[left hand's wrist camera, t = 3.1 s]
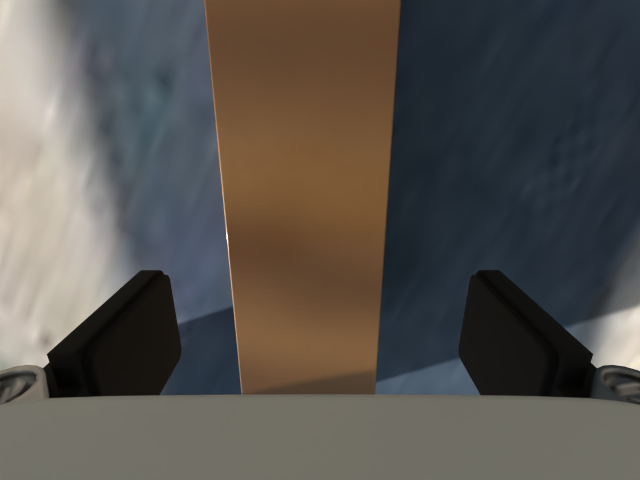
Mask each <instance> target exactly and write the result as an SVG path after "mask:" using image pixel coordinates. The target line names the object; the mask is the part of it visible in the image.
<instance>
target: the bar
mask: <svg viewBox="0 0 640 480" xmlns="http://www.w3.org/2000/svg"><path fill="white" fill-rule="evenodd" d="M204 4H205V15H206V25H207V36H208V46H209V57H210V67H211V78H212V88H213V99H214V109H215V120H216V130H217V141H218V151H219V162H220V172H221V183H222V193H223V204H224V214H225V225H226V235H227V246H228V256H229V267H230V277H231V287H232V298H233V308H234V319H235V329H236V340H237V350H238V361H239V371H240V382H241V392H242V395H244V394H375V387H376V372H377V357H378V342H379V327H380V312H381V297H382V282H383V267H384V252H385V237H386V222H387V207H388V192H389V177H390V162H391V147H392V132H393V117H394V102H395V87H396V72H397V57H398V42H399V27H400V12H401V0H204Z"/></svg>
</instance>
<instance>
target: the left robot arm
mask: <svg viewBox="0 0 640 480" xmlns="http://www.w3.org/2000/svg"><path fill="white" fill-rule="evenodd" d="M47 356H48V359H49V363H48V364H47V365H46V366H45V367H44V368H41V367H38V366H35V365H24V366H16V367H12V368H9V369H5V370H2V371H0V480H640V371H638V370H635V369H631V368H628V367H624V366H616V365H605V366H602V367H599V368H596V367H595V366H594V365H593V364H592V363H591V359H592V356H593V354H592V353H591V352H590V351H589V350H588V349H587V348H586V347H584V346H583V345H582V344H581V343H580V342H579V341H578V340H577V339H575V338H574V337H573V336H572V335H571V334H570V333H569V332H568V331H567V330H565V329H564V328H563V327H562V326H561V325H560V324H559V323H558V322H556V321H555V320H554V319H553V318H552V317H551V316H550V315H549V314H547V313H546V312H545V311H544V310H543V309H542V308H541V307H540V306H539V305H537V304H536V303H535V302H534V301H533V300H532V299H531V298H530V297H528V296H527V295H526V294H525V293H524V292H523V291H522V290H521V289H520V288H518V287H517V286H516V285H515V284H514V283H513V282H512V281H511V280H509V279H508V278H507V277H506V276H505V275H504V274H503V273H502V272H500V271H499V270H479V271H478V272H477V273H476V275H472V276H471V278H470V283H469V289H468V295H467V301H466V307H465V313H464V319H463V325H462V331H461V337H460V343H459V356H460V359H461V361H462V363H463V365H464V366H465V368H466V370H467V372H468V373H469V375H470V377H471V379H472V380H473V382H474V384H475V386H476V388H477V389H478V391H479V393H480V395H381V394H244V395H160V393H161V391H162V389H163V388H164V386H165V384H166V382H167V380H168V379H169V377H170V375H171V373H172V372H173V370H174V368H175V366H176V365H177V363H178V361H179V359H180V356H181V343H180V337H179V331H178V325H177V319H176V313H175V307H174V301H173V295H172V289H171V283H170V278H169V276H168V275H164V273H163V272H162V271H161V270H141V271H140V272H138V273H137V274H136V275H135V276H134V277H133V278H132V279H131V280H129V281H128V282H127V283H126V284H125V285H124V286H123V287H122V288H120V289H119V290H118V291H117V292H116V293H115V294H114V295H113V296H112V297H110V298H109V299H108V300H107V301H106V302H105V303H104V304H103V305H101V306H100V307H99V308H98V309H97V310H96V311H95V312H94V313H93V314H91V315H90V316H89V317H88V318H87V319H86V320H85V321H84V322H82V323H81V324H80V325H79V326H78V327H77V328H76V329H75V330H73V331H72V332H71V333H70V334H69V335H68V336H67V337H66V338H65V339H63V340H62V341H61V342H60V343H59V344H58V345H57V346H56V347H54V348H53V349H52V350H51V351H50V352H49V353H48V354H47Z"/></svg>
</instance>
